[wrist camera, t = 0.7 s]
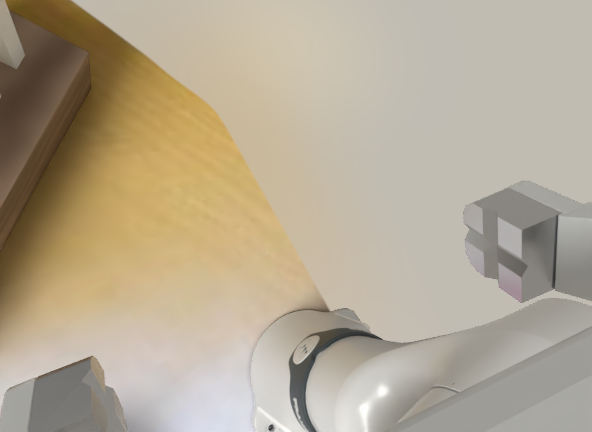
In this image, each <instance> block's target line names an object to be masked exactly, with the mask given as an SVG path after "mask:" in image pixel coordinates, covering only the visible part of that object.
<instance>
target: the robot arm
mask: <svg viewBox="0 0 592 432" xmlns="http://www.w3.org/2000/svg"><path fill="white" fill-rule="evenodd" d="M463 219H464V223H465V225H466V226H468V227H469V228H470V230H469V232H468V234H467V236H466V238H465V248H466V254H467V256H468V258H469V260H470V263H471V264H472V266H473V267H474V268H475V269H476V270H477V271H478V272H479V273H480V274H482V275H483V276H484V277H488V278H493V279H498V283H499V287H500V288H501V289H502V290H504V291H505V292H507V293H508V294H509V295H511V296H512V297H514V298H515V299H516V300H518V301H519V302H521V303H523V302H525V301H528V300H530V299H532V298H535V297H537V296H539V295H541V294H544V293H546V292H548V291H550V290H553V289H555V291H558V292H562V293H565V294H569V295H572V296H576V297H579V298H583V299H586V300H590V301H592V202H588V203H586V204H581V203H579V202H577V201H575V200H572V199H570V198H568V197H565V196H563V195H561V194H558V193H556V192H554V191H551V190H549V189H547V188H544V187H542V186H539V185H537V184H535V183H533V182H531V181H521V182H518V183H516V184H514V185H512V186H509V187H507V188H505V189H503V190H501V191H499V192H497V193H494V194H492V195H490V196H487V197H485V198H482V199H480V200H478V201H475V202H473V203H471V204H468V205H466V206H465V209H464V212H463ZM251 384H252V389H253V393H254V400H255V404H254V409H253V415H252V426H253V428H254V430H255V431H257V432H592V307H591V306H588V305H586V304H583V303H580V302H576V301H572V300H567V299H560V298H548V299H542V300H539V301H537V302H535V303H533V304H531V305H529V306H527V307H525V308H523V309H521V310H519V311H516V312H514V313H513V314H510V315H508V316H506V317H503V318H501V319H498V320H496V321H493V322H490V323H487V324H485V325H482V326H478V327H475V328H471V329H467V330H463V331H459V332H455V333H451V334H447V335H442V336H438V337H434V338H430V339H425V340H420V341H415V342H409V343H397V342H390V341H385V340H382V339H381V338H379V337H377V336H375V335H374V334H372V333H371V332H370V331H369V326H368V325H366V324H365V323H362V322H361V321H360V320H359V318H358V317H357V315H356V314H355V313H354V311H352V310H350V309H347V308H343V309H338V310H335V311H331V312H320V311H314V310H301V311H296V312H292V313H289V314H287V315H285V316H283V317H281V318H280V319H278V320H277V321H275V322H274V323H273V324H272V325H271V326H270V327H269V328H268V329H267V330H266V331H265V332H264V334H263V335H262V336H261V338H260V340H259V342H258V344H257V346H256V348H255V351H254V354H253V357H252V362H251ZM271 424H273V429H272V430H268V427H269V425H271ZM0 432H127V425H126V421H125V417H124V413H123V409H122V407H121V404H120V402H119V399H118V397H117V395H116V393H115V391H114V389H113V388H111V387H108V386H105V378H104V371H103V369H102V367H101V365H100V364H99V362H98V360H97V359H96V358H95V357H94V356H91V357H88V358H85V359H83V360H80V361H78V362H75V363H72V364H70V365H67V366H64V367H62V368H59V369H57V370H54V371H51V372H49V373H46V374H44V375H41V376H38V377H37V378H33V379H31V380H28V381H26V382H23V383H21V384H18V385H16V386H13V387H11V388H9V389H8V390H7V391H6V392H5V394H4V398H3V403H2V409H1V414H0Z"/></svg>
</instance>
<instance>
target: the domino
mask: <svg viewBox="0 0 592 432" xmlns="http://www.w3.org/2000/svg"><path fill="white" fill-rule="evenodd" d="M24 56H25V53H24V51H23V48H22V45H21V43H20V40H19V37H18V34H17V32H16V29H15V26H14V23H13V21H12V18H11V15H10V12H9V10H8V7H7V4H6V2H5V0H0V61H1V62H3V63H5V64H7V65H9V66H11V67H13V68H15V69H17V68H18V66H19V65H20V63H21V61H22V60H23V58H24Z"/></svg>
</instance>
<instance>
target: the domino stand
mask: <svg viewBox="0 0 592 432" xmlns="http://www.w3.org/2000/svg"><path fill="white" fill-rule="evenodd" d="M9 12H10V15H11V18H12V21H13V23H14V26H15V29H16V32H17V34H18V37H19V40H20V43H21V45H22V48H23V51H24V53H25V56H24V58H23V60H22V61H21V63H20V65H19V66H18V68H17V69H15V68H13V67H11V66H9V65H7V64H5V63H3V62H1V61H0V94H1V98H0V251H1V249H2V247H3V245H4V243H5V242H6V240H7V238H8V236H9V234H10V233H11V231H12V229H13V227H14V225H15V224H16V222H17V220H18V218H19V216H20V215H21V213H22V211H23V209H24V207H25V206H26V204H27V202H28V200H29V198H30V197H31V195H32V193H33V191H34V189H35V188H36V186H37V184H38V182H39V180H40V179H41V177H42V175H43V173H44V171H45V170H46V168H47V166H48V164H49V162H50V161H51V159H52V157H53V155H54V153H55V152H56V150H57V148H58V146H59V144H60V143H61V141H62V139H63V137H64V135H65V134H66V132H67V130H68V128H69V126H70V125H71V123H72V121H73V119H74V117H75V116H76V114H77V112H78V110H79V108H80V107H81V105H82V103H83V101H84V99H85V98H86V96H87V94H88V92H89V90H90V89H91V77H90V64H89V52H87V51H85V50H83V49H82V48H80V47H78V46H76V45H74V44H72V43H70V42H68V41H66V40H65V39H63V38H61V37H59V36H57V35H55V34H53V33H51V32H49V31H48V30H46V29H44V28H42V27H40V26H38V25H36V24H34V23H32V22H31V21H29V20H27V19H25V18H23V17H21V16H19V15H17V14H15V13H13V12H12V11H10V10H9Z"/></svg>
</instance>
